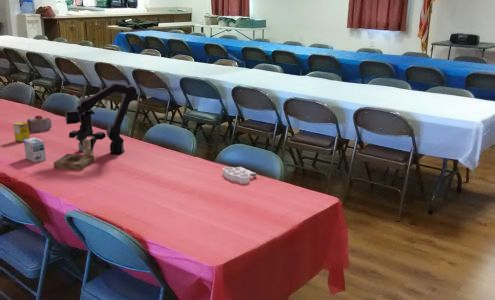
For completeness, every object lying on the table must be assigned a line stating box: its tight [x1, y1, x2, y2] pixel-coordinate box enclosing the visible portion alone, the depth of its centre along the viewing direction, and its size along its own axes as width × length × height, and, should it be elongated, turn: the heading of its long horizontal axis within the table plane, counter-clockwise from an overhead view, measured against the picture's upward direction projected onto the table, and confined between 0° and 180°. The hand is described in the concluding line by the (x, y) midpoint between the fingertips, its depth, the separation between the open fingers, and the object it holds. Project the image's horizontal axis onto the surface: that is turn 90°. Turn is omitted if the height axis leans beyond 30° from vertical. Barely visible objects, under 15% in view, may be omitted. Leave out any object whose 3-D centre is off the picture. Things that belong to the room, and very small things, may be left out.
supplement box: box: [13, 121, 31, 144], centre depth 314 cm, size 6×6×11 cm
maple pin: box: [82, 138, 95, 156], centre depth 290 cm, size 4×4×9 cm
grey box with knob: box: [26, 115, 53, 133], centre depth 337 cm, size 14×8×10 cm, turn 132°
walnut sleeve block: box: [53, 153, 95, 171], centre depth 277 cm, size 15×15×3 cm
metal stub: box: [77, 141, 83, 153], centre depth 300 cm, size 4×4×5 cm
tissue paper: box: [222, 166, 258, 184], centre depth 264 cm, size 3×18×15 cm
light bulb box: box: [23, 137, 47, 163], centre depth 282 cm, size 11×7×11 cm, turn 47°
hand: (88, 150), depth 290 cm, fingers closed on maple pin, 4 cm apart
